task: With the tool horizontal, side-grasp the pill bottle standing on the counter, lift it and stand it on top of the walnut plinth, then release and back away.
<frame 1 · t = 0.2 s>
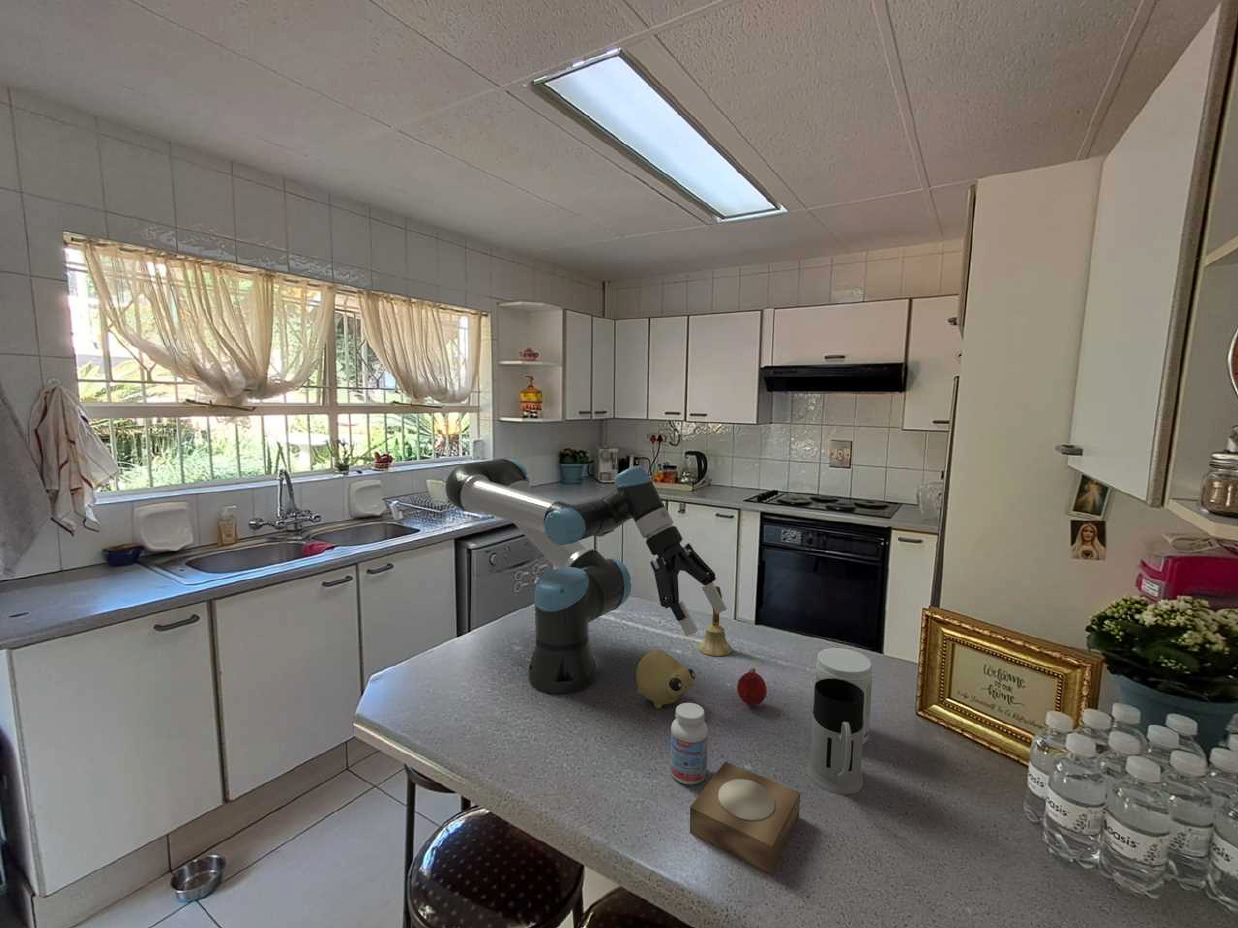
hand: (707, 622, 115), 15 cm above the countertop, tool tilted 35°, fingers open, 13 cm apart
pill bottle: (688, 774, 91), on the countertop
supplement tub: (840, 734, 102), on the countertop
toy pig: (664, 703, 112), on the countertop
hand bell: (714, 649, 136), on the countertop
glass holder: (837, 787, 88), on the countertop
walnut plinth: (745, 824, 80), on the countertop
onion: (751, 707, 111), on the countertop
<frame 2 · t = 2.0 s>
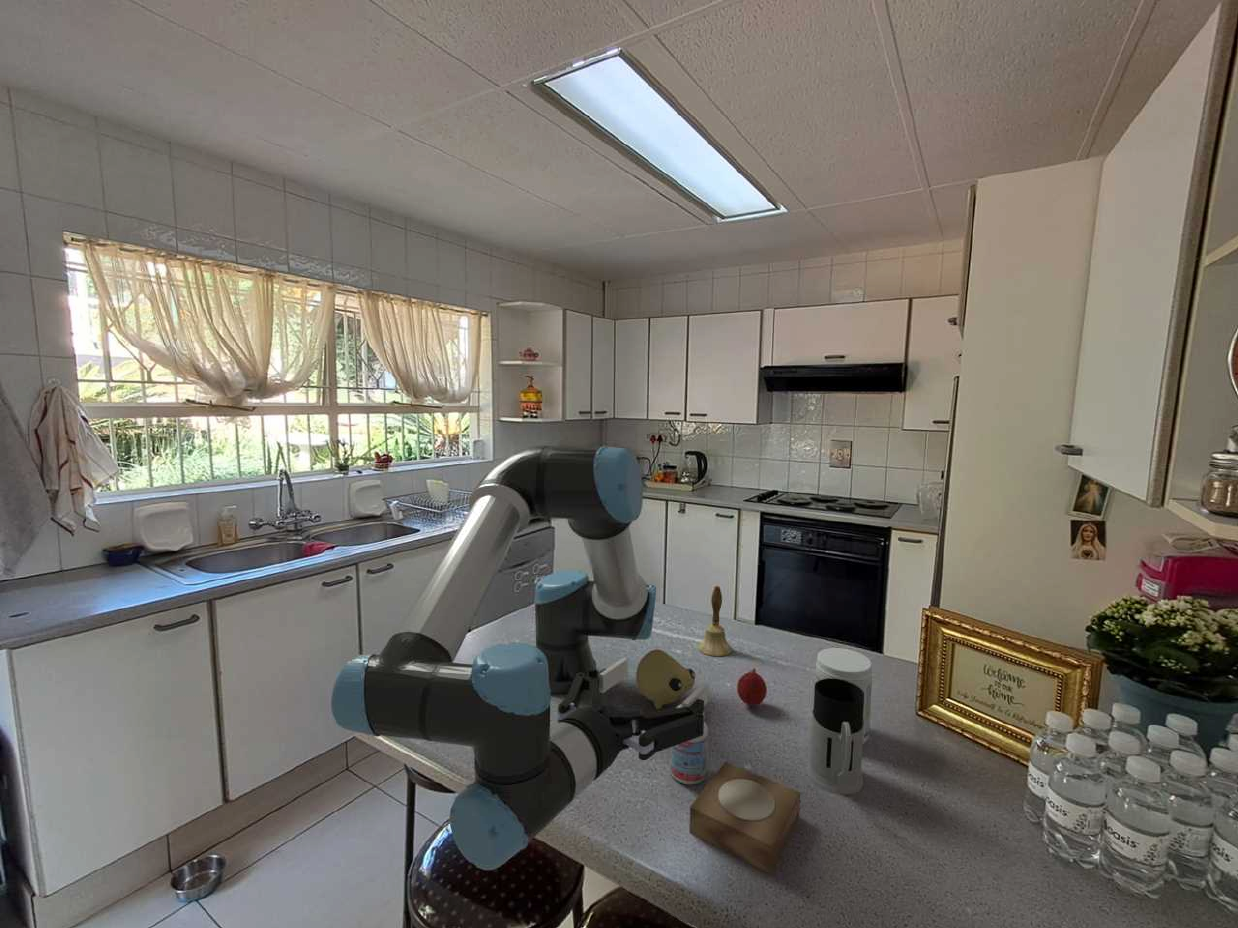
hand: (664, 678, 81), 21 cm above the countertop, tool horizontal, fingers open, 13 cm apart
nothing on the countertop moved.
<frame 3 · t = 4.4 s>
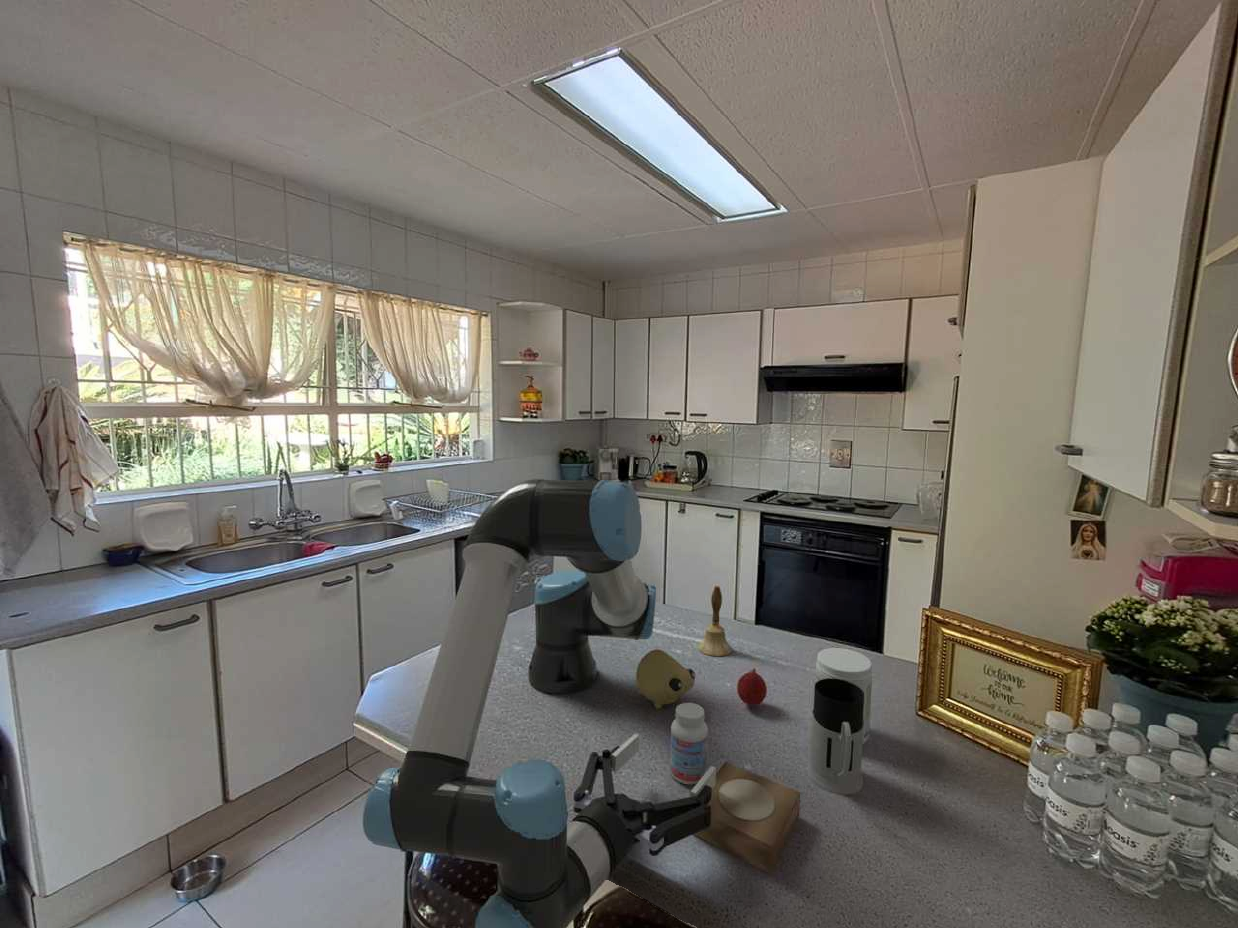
hand: (673, 757, 85), 6 cm above the countertop, tool horizontal, fingers open, 13 cm apart
nothing on the countertop moved.
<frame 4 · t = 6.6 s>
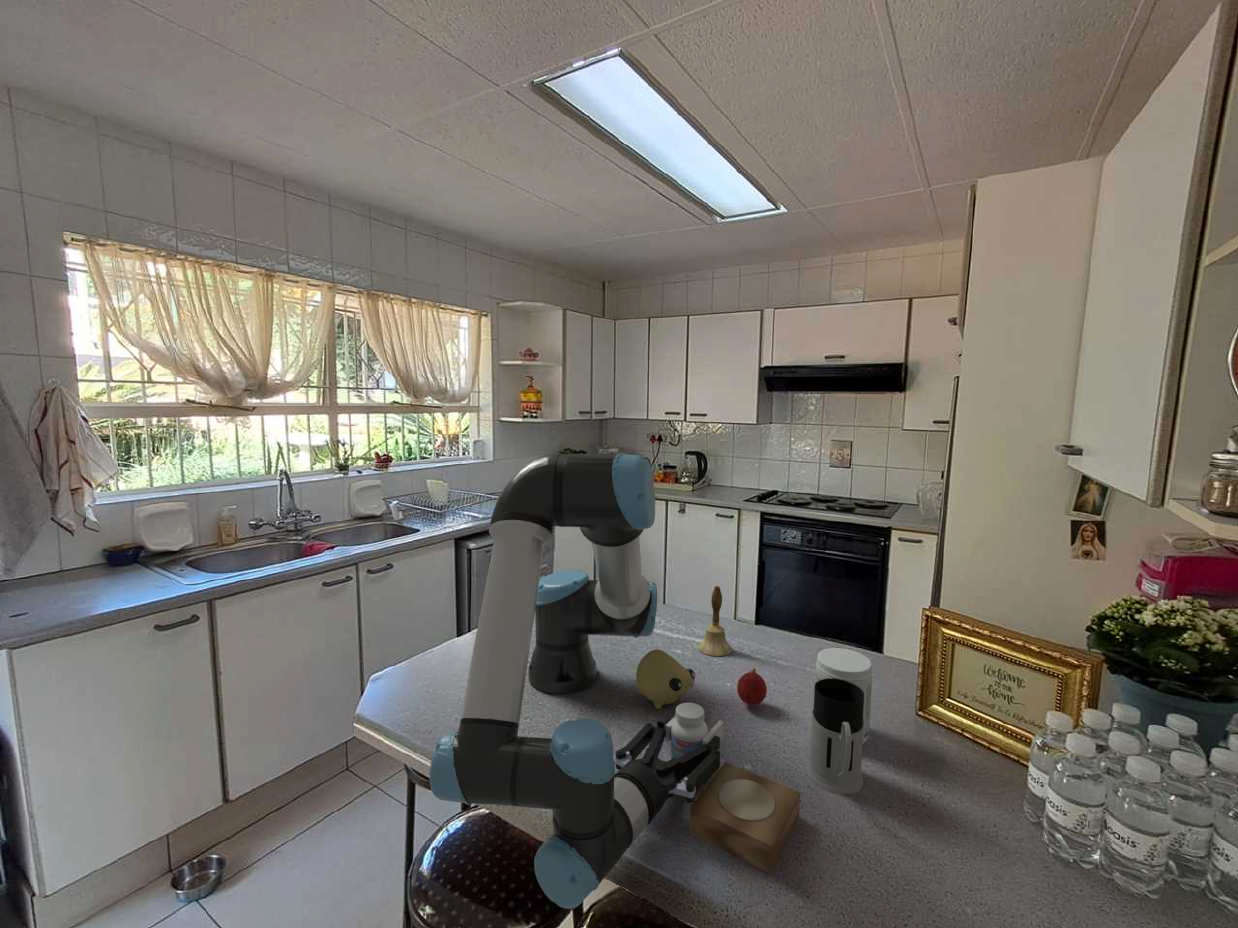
hand: (703, 721, 94), 7 cm above the countertop, tool horizontal, fingers closed on pill bottle, 6 cm apart
pill bottle: (688, 774, 91), on the countertop, touching gripper
everything else where it was.
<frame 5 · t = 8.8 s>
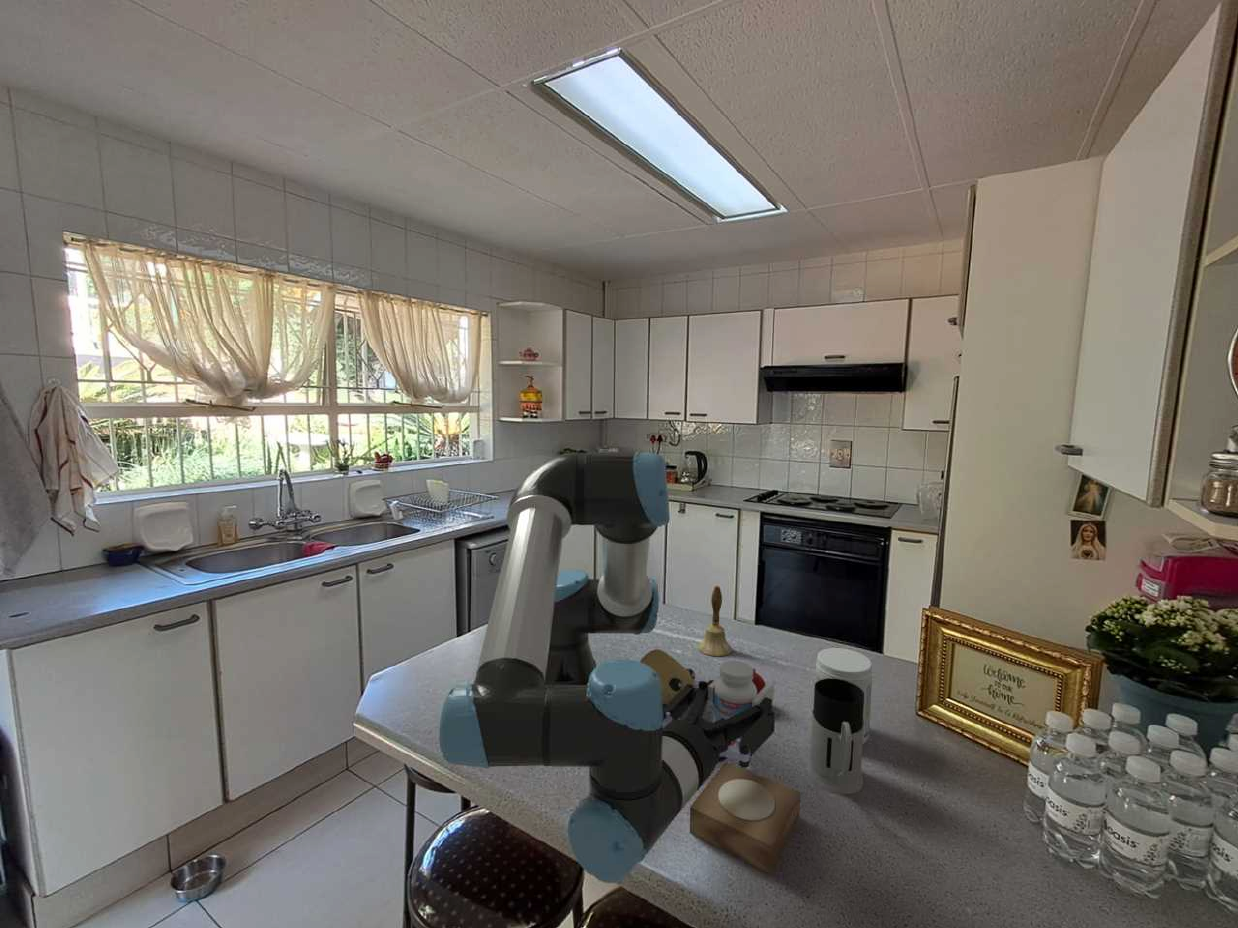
hand: (749, 684, 83), 19 cm above the countertop, tool horizontal, fingers closed on pill bottle, 6 cm apart
pill bottle: (734, 742, 80), point 12 cm above the countertop, touching gripper
everything else where it was.
when the fingers open (11 cm above the countertop, at t = 10.8 s): pill bottle stays where it is, resting on walnut plinth.
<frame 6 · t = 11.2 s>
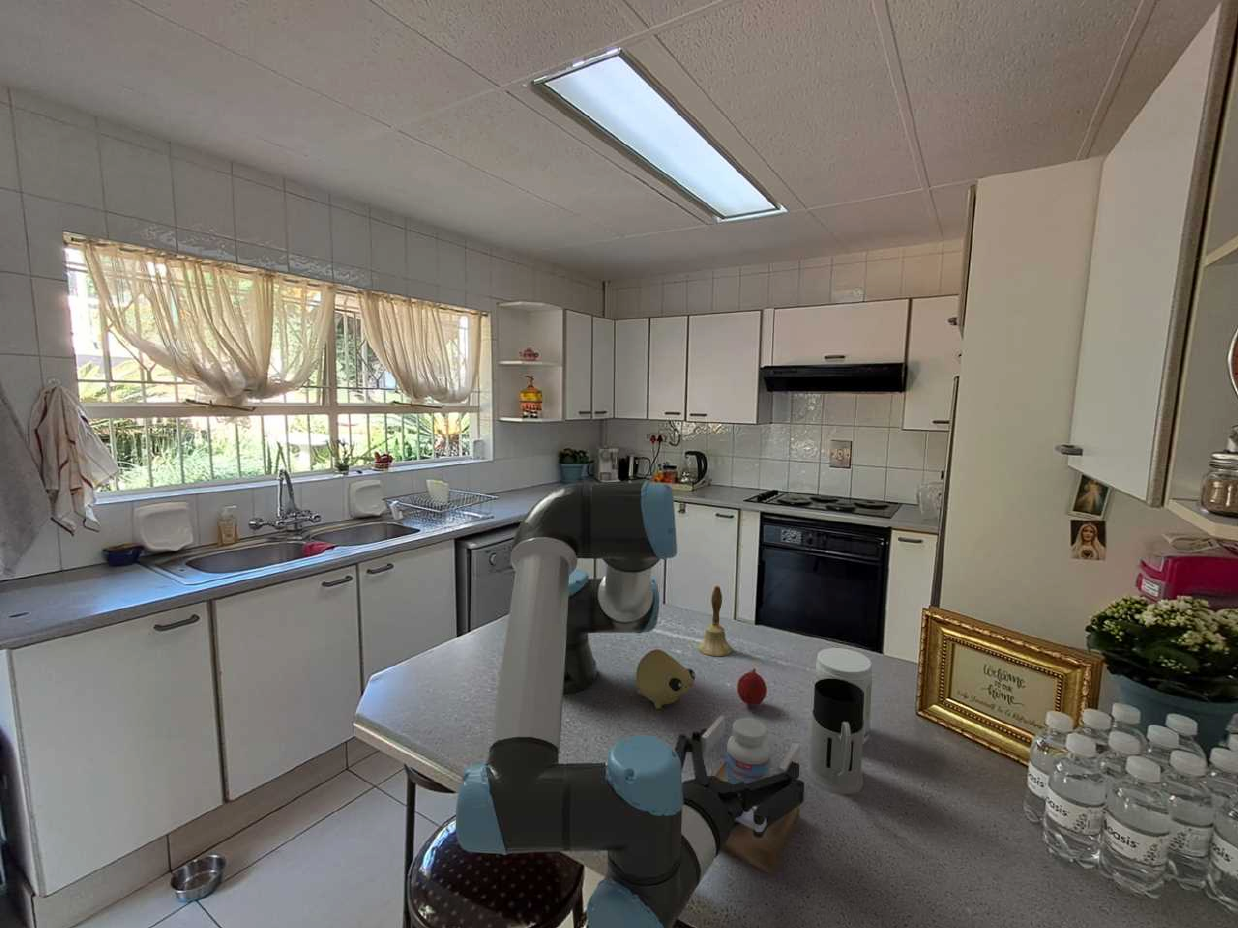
hand: (758, 737, 82), 11 cm above the countertop, tool horizontal, fingers open, 11 cm apart
pill bottle: (746, 800, 80), point 4 cm above the countertop, touching walnut plinth
everything else where it was.
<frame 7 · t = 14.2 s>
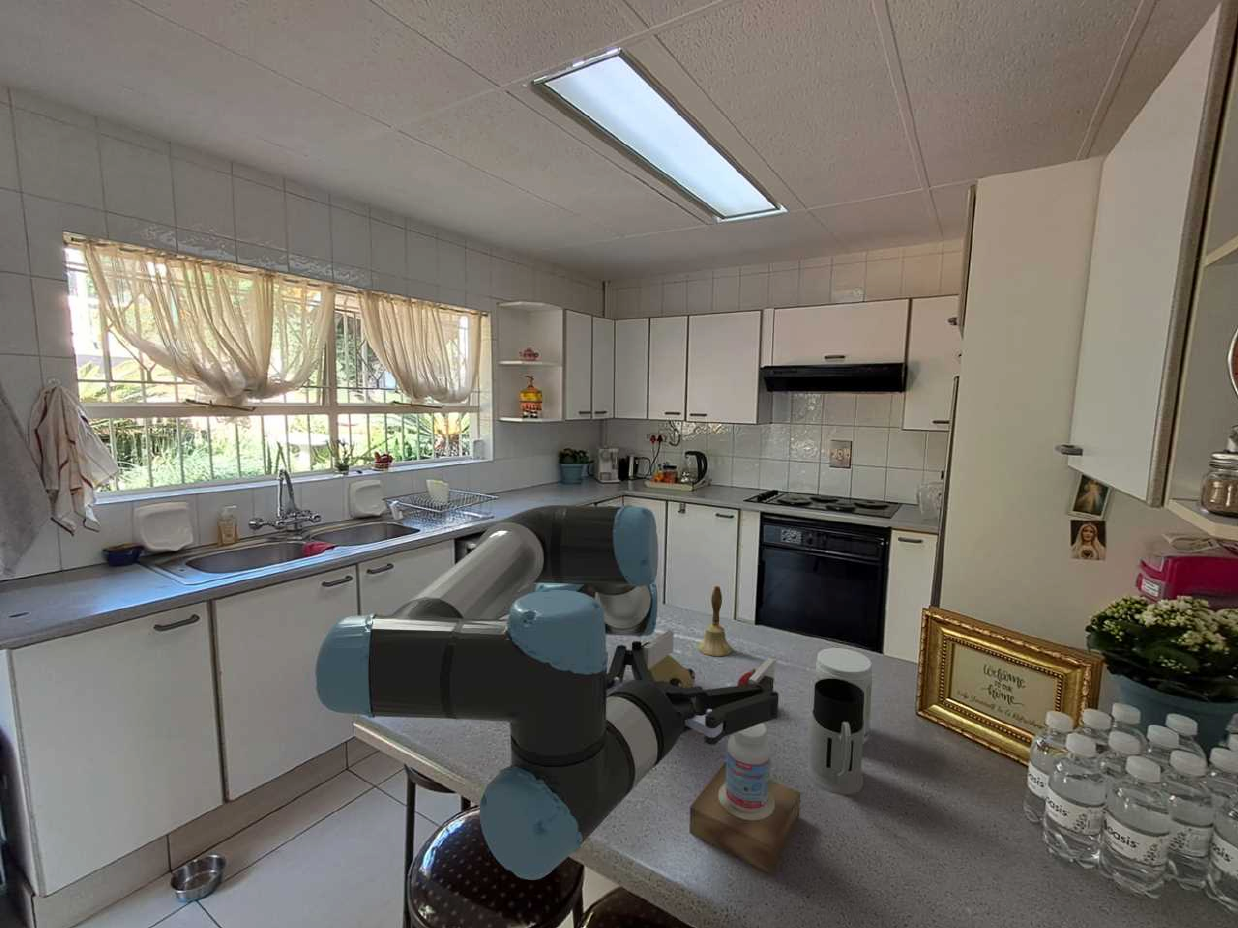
hand: (718, 654, 69), 30 cm above the countertop, tool horizontal, fingers open, 13 cm apart
nothing on the countertop moved.
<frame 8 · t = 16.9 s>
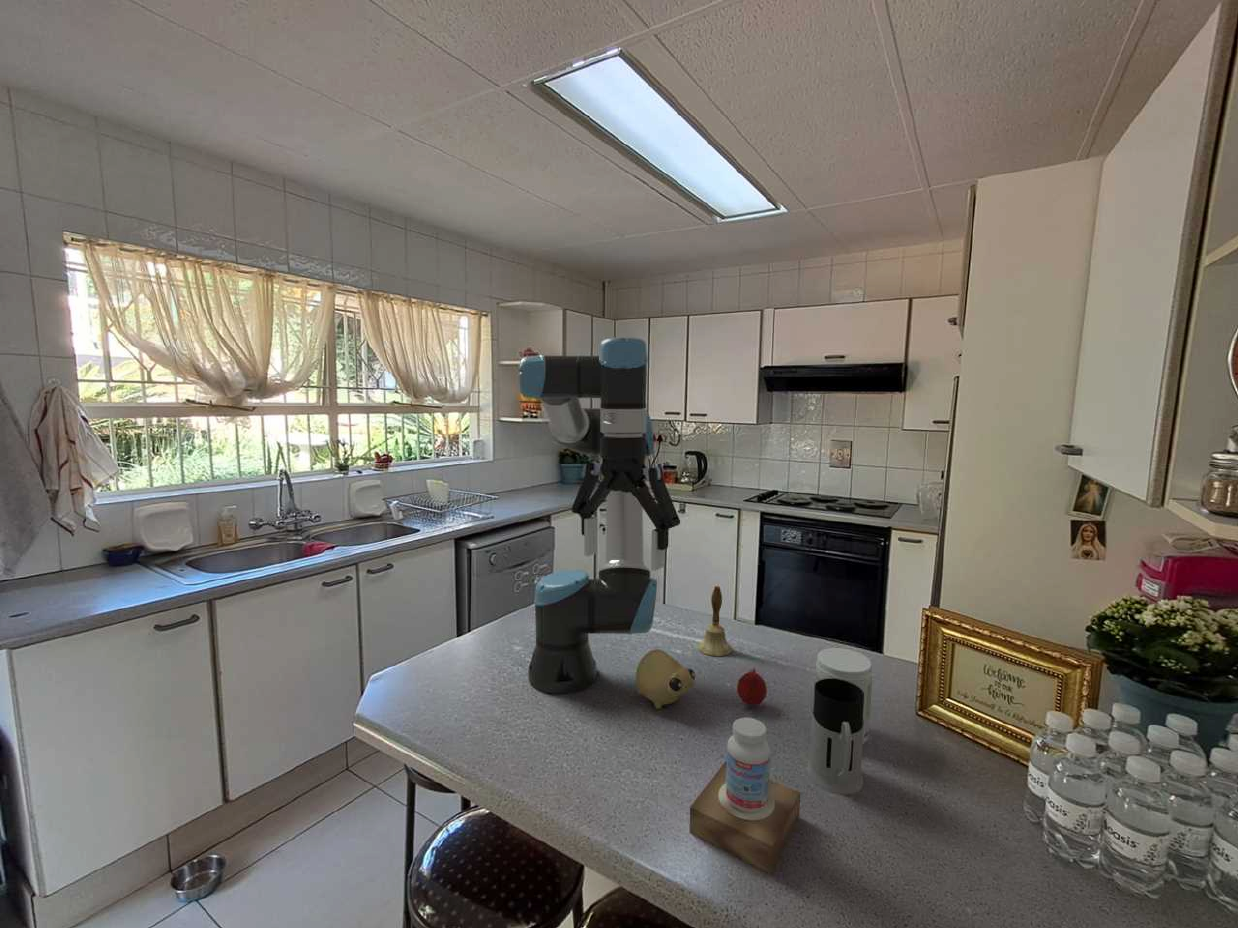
hand: (622, 561, 92), 35 cm above the countertop, tool pointing down, fingers open, 13 cm apart
nothing on the countertop moved.
at the end: pill bottle inside the target area on the walnut plinth (0.1 cm from its centre), point 4.0 cm above the walnut plinth's base; pill bottle tilted 0°; the gripper is holding nothing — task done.
